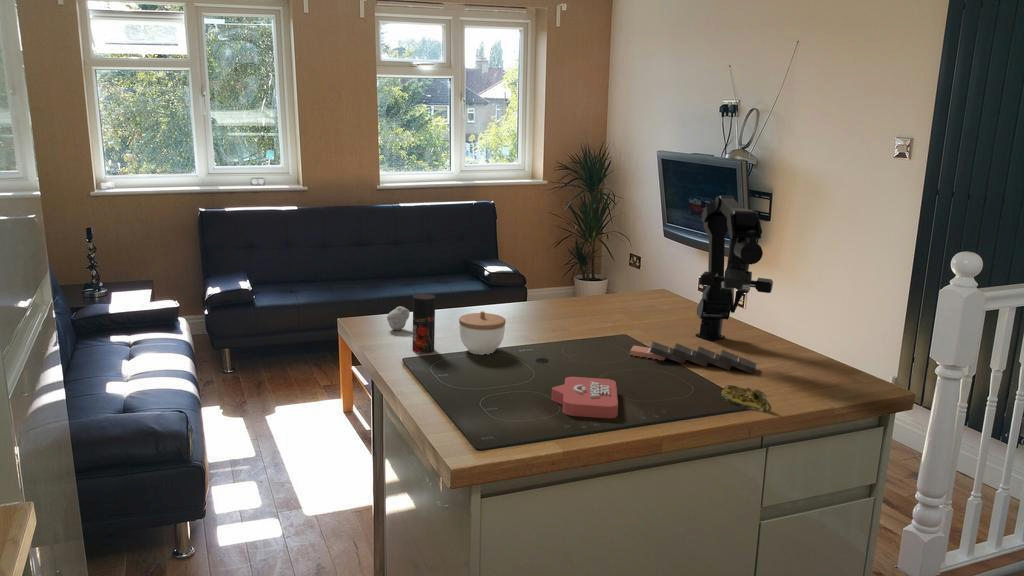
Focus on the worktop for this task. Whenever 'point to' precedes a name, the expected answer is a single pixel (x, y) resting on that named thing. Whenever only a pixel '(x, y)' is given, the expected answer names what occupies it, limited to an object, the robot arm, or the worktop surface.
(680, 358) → the domino
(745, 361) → the domino
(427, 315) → the deodorant
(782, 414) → the worktop surface
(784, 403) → the worktop surface
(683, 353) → the domino
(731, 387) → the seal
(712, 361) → the domino
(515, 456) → the worktop surface
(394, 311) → the grey lumpy stone
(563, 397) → the plaque
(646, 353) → the domino
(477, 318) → the lidded bowl
